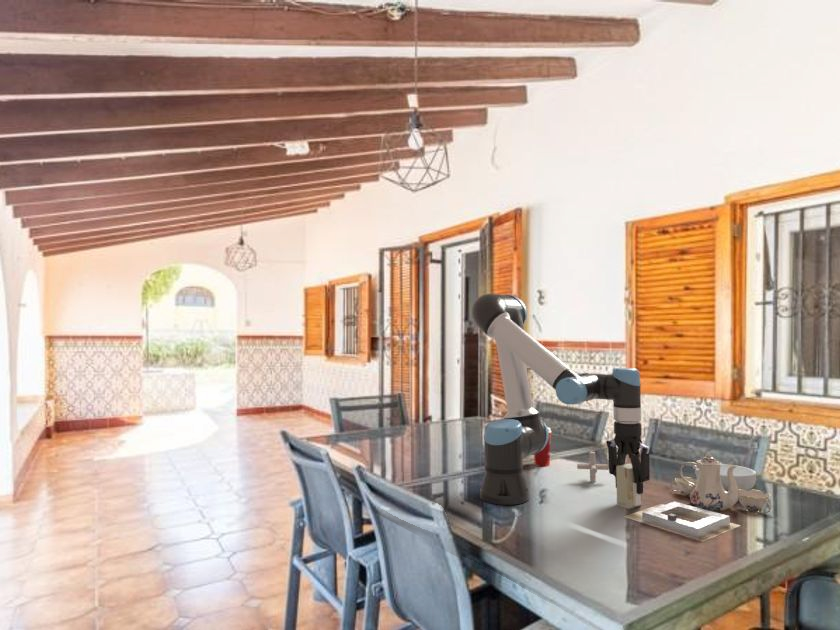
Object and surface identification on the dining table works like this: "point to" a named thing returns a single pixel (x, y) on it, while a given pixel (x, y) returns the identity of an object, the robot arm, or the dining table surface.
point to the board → (638, 517)
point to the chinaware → (718, 489)
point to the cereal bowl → (736, 476)
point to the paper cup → (544, 453)
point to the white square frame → (702, 527)
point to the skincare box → (625, 486)
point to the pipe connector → (592, 467)
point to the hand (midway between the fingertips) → (629, 502)
